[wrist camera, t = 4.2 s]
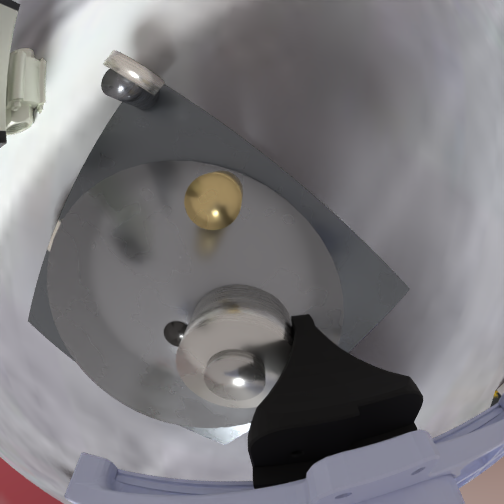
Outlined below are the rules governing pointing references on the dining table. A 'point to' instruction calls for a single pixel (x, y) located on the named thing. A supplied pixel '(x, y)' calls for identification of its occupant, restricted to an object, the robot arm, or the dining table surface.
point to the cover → (235, 346)
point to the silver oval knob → (130, 81)
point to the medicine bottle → (498, 394)
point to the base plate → (251, 164)
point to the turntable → (176, 276)
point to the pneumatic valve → (18, 78)
